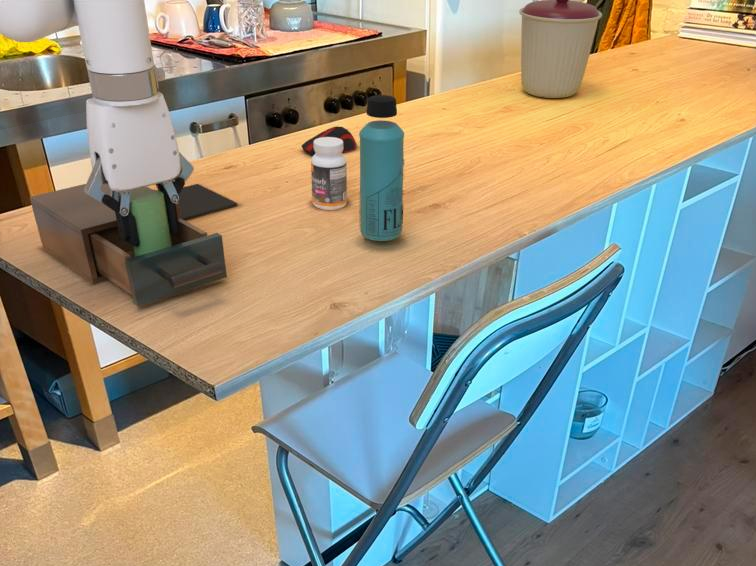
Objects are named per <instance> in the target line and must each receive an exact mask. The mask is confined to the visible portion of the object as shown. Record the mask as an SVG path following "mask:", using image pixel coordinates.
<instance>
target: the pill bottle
mask: <svg viewBox="0 0 756 566" xmlns="http://www.w3.org/2000/svg"><path fill="white" fill-rule="evenodd" d="M343 149H344V148H343V141H342V140H341V139H339V138H335V137H321V138H317V139H315V140H314V151H315V155H314V156H311V160H310V171H311V201H312V205H313V206H314V207H315V208H317V209H320V210H324V211H334V210H340V209H342V208H344V207H345V206H346V205H347V203H348V182H347V181H348V180H347V176H348V175H347V174H348V173H347V172H348V171H347V162H348V161H347V158H346V156H345V155H344V153H342V151H343Z"/></svg>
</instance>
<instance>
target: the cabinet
mask: <svg viewBox="0 0 756 566" xmlns="http://www.w3.org/2000/svg"><path fill="white" fill-rule="evenodd" d="M85 185H86V183H82V184H79V185H74V186H70V187H66V188H62V189H61V188H60V189H57V190H54V191H49V192H44V193H41V194H40V193H39V194H36V195H32V196H29V200H30V205H31V208H32V211H33V216H34V220H35V223H36V227H37V231H38V235H39V238H40V241H41V242H40V243H41V245H42V249H43V250H44V251H45V252H47V253H48V254H50V255H51V256H52V257H54V258H55V259H57V260H58V261H60V262H61V263H62V264H64V265H65V266H67V267H68V268H70V269H71V270H72V271H73V272H75V273H76V274H78V275H79V276H81V278H83V279H85V280H86V281H88V282H89V283H91V284H92V285H96V284H99V283H104V282H105V281H106V282H107V281H110V280H109V279H107V278H106V277H104V276H103V275H101V274H100V273H99V272H97V271H96V268H95V264H94V260H93V255H92V251H91V246H90V242H89V238H88V234H90V233H94V232H98V231H101V230H105V229H109V228H112V227H116V226H118V224H117V219H116V214H115V211H113V210H112V209H110V208H109V207H107V206H106V205H105V204H103V203H102V202H100V201H98V200H96V199H94V198H92V197H90V196H89V195H87V194H85V192H84V188H85ZM141 189H151V187H149V186H146V187H142V188H138V189H134V190H131V191H135V190H141ZM101 190H102V191H103V192H104V193H106V194H108V195H109V196H110V192H111V188H110V187H109V184H102V186H101ZM176 209H177V216H178V217H179V218H181V211H180V204H179V203H176ZM181 219H182V218H181Z"/></svg>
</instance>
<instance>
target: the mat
mask: <svg viewBox="0 0 756 566" xmlns="http://www.w3.org/2000/svg"><path fill="white" fill-rule="evenodd" d="M178 196H179V200H178V202H177V203H179V204H180V211H181V218H182V219H183V220H185V221H189V220H193V219H197V218H200V217H203V216H206V215H211V214H214V213H217V212H221V211H225V210H228V209H232V208H236V207H238V202H236V201H234V200H231V199H230V198H228V197H225V196H223V195H221V194H220V193H217V192H215V191H213V190H211V189H209V188H207V187H205V186H204V185H201V184H199V183H196V184H191V185H187V186H184V187H183V189H182V190H181V192H180V194H179V195H178Z"/></svg>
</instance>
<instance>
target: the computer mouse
mask: <svg viewBox="0 0 756 566" xmlns="http://www.w3.org/2000/svg"><path fill="white" fill-rule="evenodd" d="M321 137H335V138H339V139H341V140H342V141H343V148H344V149H343V151H342V154H347V153H351V152H354V151H356V150H357V141H356V140H355V138H354V136H353V134H352V133H351V132H350V131H349V129H347V128H345V127H343V126H333V127H330V128H328V129H325V130H324V131H322V132H320V133H318V134H316V135H315V136H313V137H311V138H309V139H308V140H307V141H305V142H304V143H303V144H301V146H300V147H301V148H302V150H303V151H304V153H306V154H307V155H309V156H311V157H313V156H314V155H315V151H314V140H315V139H317V138H321Z"/></svg>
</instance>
